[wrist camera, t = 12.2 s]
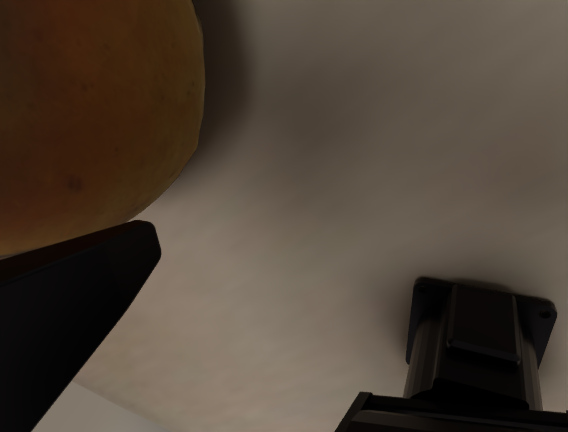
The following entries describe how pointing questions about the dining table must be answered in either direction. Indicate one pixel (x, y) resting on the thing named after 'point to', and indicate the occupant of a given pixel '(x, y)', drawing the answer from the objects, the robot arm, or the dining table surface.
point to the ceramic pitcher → (93, 112)
